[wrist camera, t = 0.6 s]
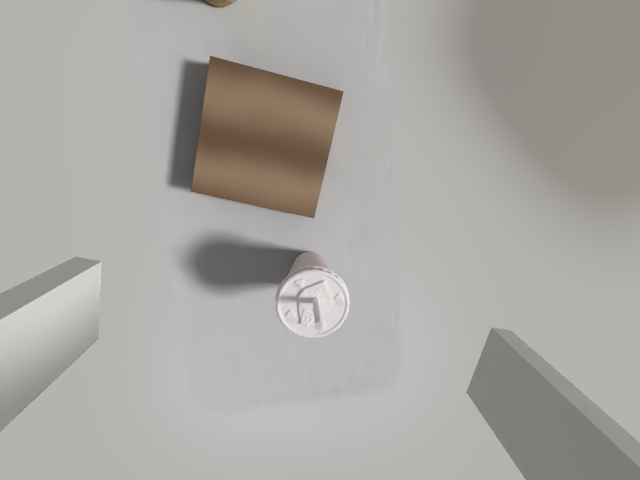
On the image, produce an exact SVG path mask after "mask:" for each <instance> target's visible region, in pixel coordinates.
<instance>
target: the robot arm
mask: <svg viewBox="0 0 640 480" xmlns="http://www.w3.org/2000/svg"><path fill="white" fill-rule="evenodd" d="M101 263H102V262H101V261H96V260H90V259H84V258H79V257H75V258H72V259H70V260H68V261H66V262H64V263H62V264H60V265H58V266H56V267H54V268H52V269H50V270H48V271H46V272H44V273H42V274H40V275H38V276H36V277H34V278H31V279H30V280H27V281H25V282H23V283H21V284H20V285H17V286H15V287H13V288H11V289H9V290H7V291H5V292H3V293H1V294H0V432H1V431H2V430H3V429H4V428H5V427H6V426H7V425H8V424H9V423H10V422H11V421H12V420H13V419H14V418H15V417H16V416H17V415H18V414H19V413H21V412H22V411H23V409H25V408H26V407H27V406H28V405H29V404H30V403H31V402H32V401H33V400H34V399H35V398H36V397H37V396H39V395H40V393H42V392H43V390H45V389H46V388H47V387H48V386H49V385H50V384H51V383H52V382H53V381H54V380H55V379H56V378H57V377H59V376H60V374H61V373H63V372H64V371H65V370H66V369H67V368H68V367H69V366H70V365H71V364H72V363H73V362H74V361H75V360H76V359H77V358H78V357H80V356H81V355H82V354H83V353H84V352H85V351H86V350H87V349H88V348H89V347H90V346H91V345H92V344H93V343H94V342H95V341H96V340H97V339H98V332H99V309H100V285H101ZM467 393H468V395H469V396H470V398H471V399H472V401H473V402H474V404H475V405H476V407H477V408H478V410H479V411H480V413H481V414H482V416H483V417H484V419H485V420H486V422H487V423H488V425H489V426H490V427H491V429H492V430H493V432H494V433H495V435H496V436H497V438H498V439H499V441H500V442H501V444H502V445H503V447H504V448H505V449H506V451H507V452H508V454H509V455H510V457H511V458H512V460H513V461H514V463H515V464H516V466H517V467H518V469H519V470H520V472H521V473H522V475H523V476H524V478H525V479H526V480H640V443H639V442H638V441H637V440H636V439H635V438H634V437H633V436H631V435H630V434H629V433H628V432H627V431H626V430H625V429H623V428H622V427H621V426H620V425H619V424H618V423H616V422H615V421H614V420H613V419H612V418H611V417H610V416H608V415H607V414H606V413H605V412H604V411H602V410H601V409H600V408H599V407H598V406H597V405H596V404H595V403H594V402H592V401H591V400H590V399H589V398H588V397H586V396H585V395H584V394H583V393H582V392H581V391H580V390H579V389H577V388H576V387H575V386H574V385H573V384H572V383H571V382H569V381H568V380H567V379H566V378H565V377H564V376H562V375H561V374H560V373H559V372H558V371H557V370H556V369H555V368H553V367H552V366H551V365H550V364H549V363H548V362H546V361H545V360H544V359H543V358H542V357H541V356H539V355H538V354H537V353H536V352H535V351H534V350H533V349H531V348H530V347H529V346H528V345H527V344H526V343H525V342H523V341H522V340H521V339H520V338H519V337H518V336H517V335H516V334H514V333H513V332H512V331H509V330H503V329H498V328H491V330H490V333H489V335H488V338H487V341H486V343H485V346H484V348H483V351H482V353H481V356H480V359H479V361H478V364H477V367H476V369H475V372H474V374H473V377H472V380H471V382H470V385H469V387H468V390H467Z"/></svg>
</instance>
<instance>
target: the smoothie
mask: <svg viewBox="0 0 640 480" xmlns="http://www.w3.org/2000/svg"><path fill="white" fill-rule="evenodd" d="M349 305H350V301H349V294H348V290H347V287H346V285H345V284H344V282H343V280H342V279H341V278H340V277H339V276H338V275H337V274H336V273H334V272H333V271H331V269H330V268H329V266H328V265H327V264H326V262H325V261H324V260H323V258H322V257H321V256H320V255H319V254H317V253H314V252H305V253H302V254H300V255H299V256H298V257H297V258H296V259H295V261H294V263H293V265H292V267H291V270H290V272H289V274H288V276H287V277H286V278H285V279H284V280H283V281H282V283H281V284H280V286H279V288H278V291H277V294H276V311H277V315H278V317H279V319H280V321H281V323H282V324H283V325H284V326H285V327H286V328H287V329H288V330H289V331H290V332H292V333H294V334H296V335H298V336H301V337H306V338H317V337H322V336H325V335H328V334H330V333H332V332H333V331H335V330H336V329H338V328H339V327H340V326H341V324H342V323H343V322H344V320H345V319H346V317H347V314H348V311H349Z"/></svg>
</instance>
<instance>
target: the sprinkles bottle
mask: <svg viewBox="0 0 640 480" xmlns="http://www.w3.org/2000/svg"><path fill="white" fill-rule="evenodd" d="M206 1H207V2H208V3H210V4H212V5H215V6H218V7H223V6H227V5H229V4H232V3H233V2H234V1H236V0H206Z"/></svg>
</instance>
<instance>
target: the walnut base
mask: <svg viewBox="0 0 640 480" xmlns="http://www.w3.org/2000/svg"><path fill="white" fill-rule="evenodd" d="M342 95H343V91H339V90H336V89H332V88H328V87H324V86H321V85H317V84H313V83H309V82H306V81H302V80H298V79H295V78H291V77H287V76H283V75H280V74H276V73H272V72H268V71H265V70H261V69H257V68H253V67H250V66H246V65H242V64H238V63H235V62H231V61H227V60H223V59H220V58H216V57H212V56H210V61H209V68H208V75H207V82H206V89H205V96H204V103H203V110H202V117H201V124H200V132H199V139H198V146H197V153H196V160H195V167H194V174H193V181H192V188H191V192H196V193H201V194H205V195H210V196H214V197H219V198H223V199H228V200H233V201H237V202H242V203H246V204H251V205H255V206H260V207H265V208H269V209H274V210H278V211H283V212H287V213H292V214H297V215H301V216H306V217H310V218H314V216H315V211H316V207H317V203H318V199H319V194H320V190H321V186H322V181H323V177H324V173H325V168H326V164H327V160H328V156H329V151H330V147H331V143H332V138H333V134H334V130H335V125H336V121H337V117H338V113H339V108H340V104H341V100H342Z"/></svg>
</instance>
